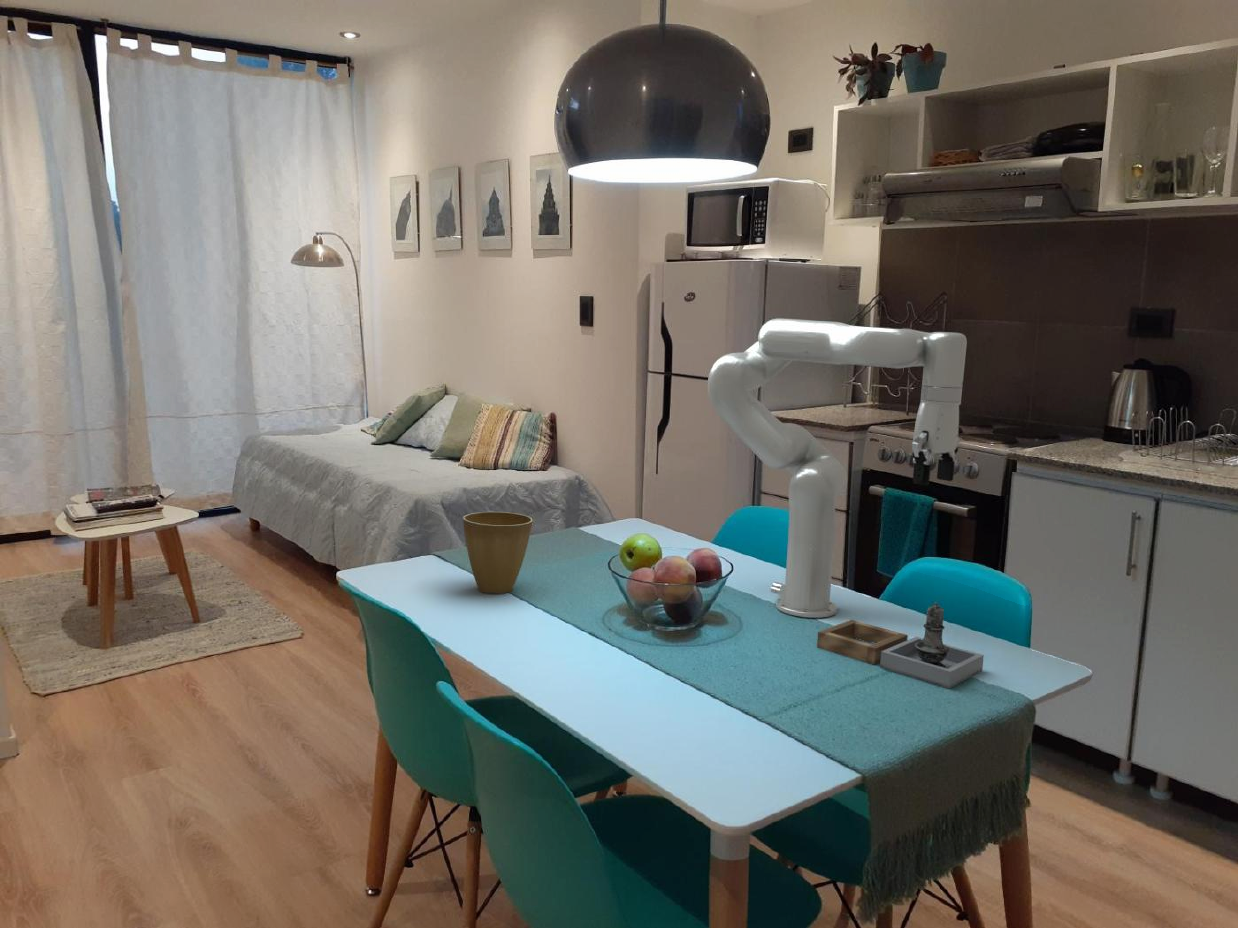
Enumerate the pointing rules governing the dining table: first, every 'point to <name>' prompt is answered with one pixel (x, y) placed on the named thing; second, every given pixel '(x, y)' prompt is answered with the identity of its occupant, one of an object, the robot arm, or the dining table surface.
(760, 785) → the dining table surface
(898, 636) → the wooden tray
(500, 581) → the plant pot
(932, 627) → the grey chess piece
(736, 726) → the dining table surface
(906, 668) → the grey tray
